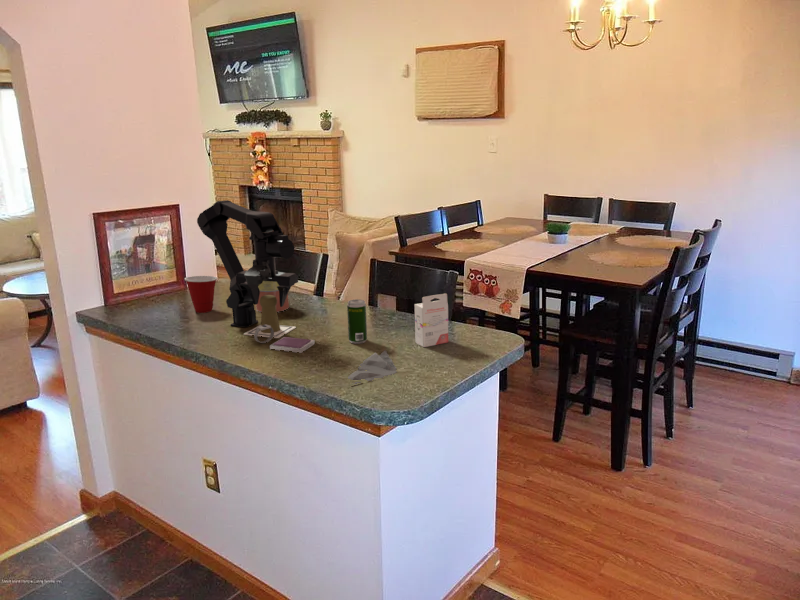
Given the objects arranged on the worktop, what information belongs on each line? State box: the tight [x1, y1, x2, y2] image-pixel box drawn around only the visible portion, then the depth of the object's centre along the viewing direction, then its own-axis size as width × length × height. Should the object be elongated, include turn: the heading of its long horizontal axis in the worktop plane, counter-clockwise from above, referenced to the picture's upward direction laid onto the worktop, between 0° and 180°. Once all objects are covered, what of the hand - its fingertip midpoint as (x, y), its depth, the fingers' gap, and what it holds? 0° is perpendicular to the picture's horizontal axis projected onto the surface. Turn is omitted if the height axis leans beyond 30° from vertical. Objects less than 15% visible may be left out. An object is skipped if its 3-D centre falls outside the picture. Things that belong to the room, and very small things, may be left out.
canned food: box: [255, 271, 290, 313], centre depth 218 cm, size 11×11×12 cm
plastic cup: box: [184, 275, 218, 314], centre depth 217 cm, size 11×11×12 cm
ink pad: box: [269, 336, 316, 354], centre depth 179 cm, size 10×8×2 cm
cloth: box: [347, 350, 398, 384], centre depth 161 cm, size 26×14×2 cm, turn 150°
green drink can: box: [346, 298, 368, 345], centre depth 181 cm, size 5×5×12 cm
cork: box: [260, 295, 281, 333], centre depth 192 cm, size 6×6×11 cm
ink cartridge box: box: [414, 292, 449, 348], centre depth 179 cm, size 9×5×15 cm, turn 118°
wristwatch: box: [253, 324, 274, 344], centre depth 183 cm, size 6×3×5 cm, turn 137°
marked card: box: [243, 324, 297, 339], centre depth 194 cm, size 12×11×1 cm
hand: (268, 305), depth 192 cm, fingers open, 9 cm apart
